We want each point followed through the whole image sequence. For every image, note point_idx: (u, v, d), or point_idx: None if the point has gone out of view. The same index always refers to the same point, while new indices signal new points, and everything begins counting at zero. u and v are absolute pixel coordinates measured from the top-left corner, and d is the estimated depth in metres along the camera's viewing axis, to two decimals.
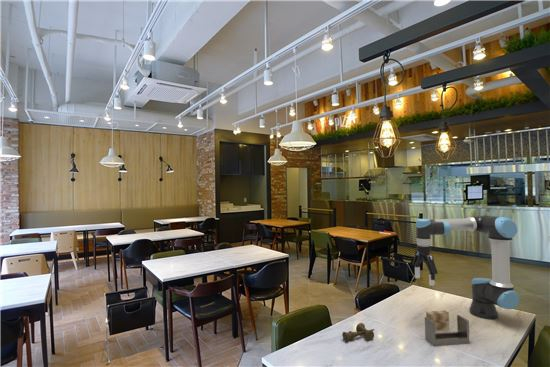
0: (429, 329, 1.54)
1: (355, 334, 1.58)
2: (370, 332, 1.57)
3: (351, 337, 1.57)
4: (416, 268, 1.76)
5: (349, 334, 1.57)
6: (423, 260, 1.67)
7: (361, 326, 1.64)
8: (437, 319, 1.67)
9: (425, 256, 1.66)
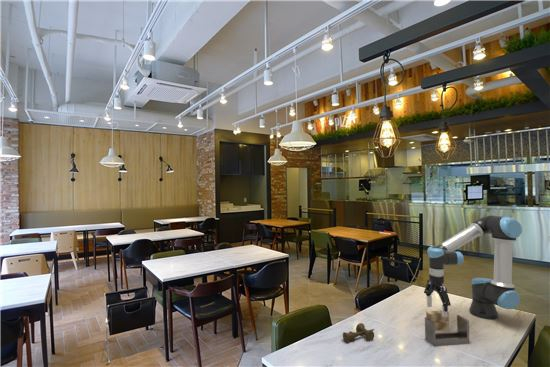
0: (429, 329, 1.54)
1: (355, 334, 1.58)
2: (370, 332, 1.57)
3: (351, 337, 1.56)
4: (428, 297, 1.75)
5: (349, 334, 1.57)
6: (436, 290, 1.67)
7: (361, 326, 1.64)
8: (437, 319, 1.67)
9: (438, 286, 1.66)
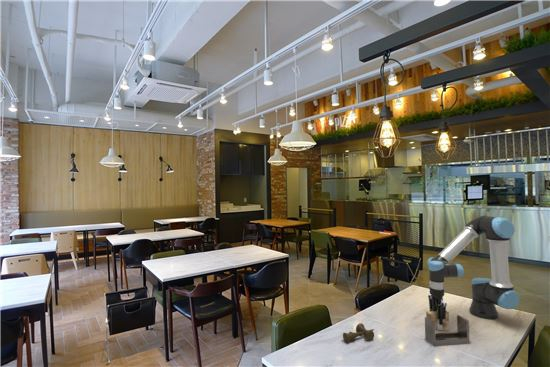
0: (429, 329, 1.54)
1: (355, 335, 1.58)
2: (370, 332, 1.57)
3: (352, 338, 1.56)
4: None
5: (350, 335, 1.56)
6: (435, 303, 1.68)
7: (361, 326, 1.63)
8: None
9: (438, 299, 1.66)
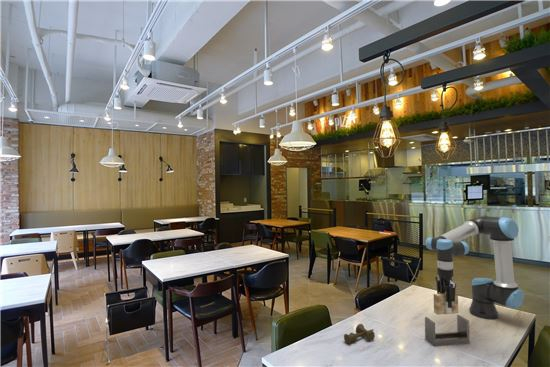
0: (429, 329, 1.54)
1: (356, 336, 1.57)
2: (371, 333, 1.57)
3: (353, 339, 1.55)
4: None
5: (351, 336, 1.55)
6: (443, 284, 1.55)
7: (361, 327, 1.63)
8: (445, 302, 1.54)
9: (447, 280, 1.53)
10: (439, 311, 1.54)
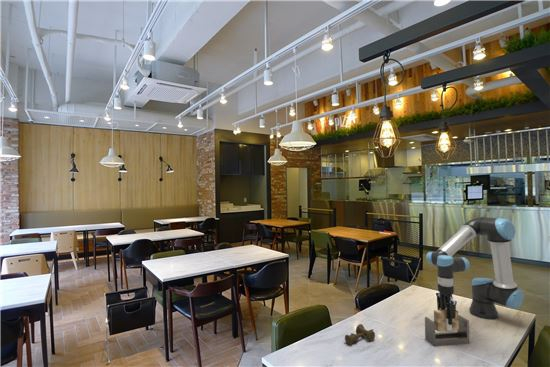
0: (429, 329, 1.54)
1: (357, 336, 1.56)
2: (372, 333, 1.57)
3: (354, 340, 1.54)
4: None
5: (352, 337, 1.54)
6: (444, 301, 1.55)
7: (361, 327, 1.62)
8: None
9: (448, 297, 1.53)
10: (439, 328, 1.54)
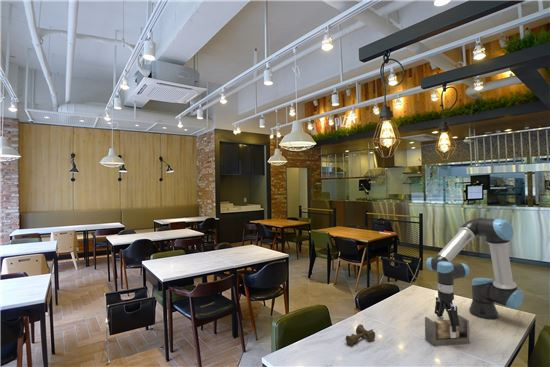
0: (429, 329, 1.54)
1: (358, 337, 1.56)
2: (372, 333, 1.57)
3: (355, 340, 1.53)
4: (439, 318, 1.60)
5: (353, 337, 1.54)
6: (445, 308, 1.54)
7: (361, 327, 1.62)
8: (446, 329, 1.54)
9: (448, 304, 1.53)
10: (440, 338, 1.54)
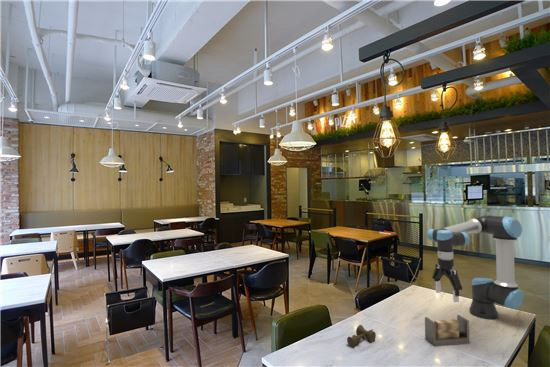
0: (429, 329, 1.54)
1: (359, 337, 1.55)
2: (373, 333, 1.56)
3: (357, 341, 1.53)
4: (437, 282, 1.65)
5: (355, 338, 1.53)
6: (445, 274, 1.57)
7: (361, 328, 1.62)
8: (446, 329, 1.54)
9: (448, 270, 1.56)
10: (440, 338, 1.54)
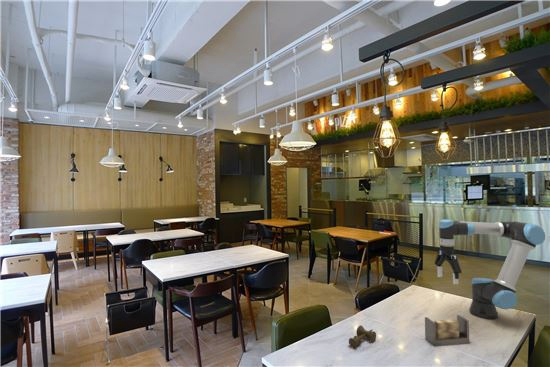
0: (429, 329, 1.54)
1: (360, 338, 1.54)
2: (374, 333, 1.56)
3: (358, 342, 1.52)
4: (439, 267, 1.81)
5: (356, 339, 1.52)
6: (446, 259, 1.72)
7: (361, 329, 1.61)
8: (446, 329, 1.54)
9: (449, 256, 1.71)
10: (440, 338, 1.54)
